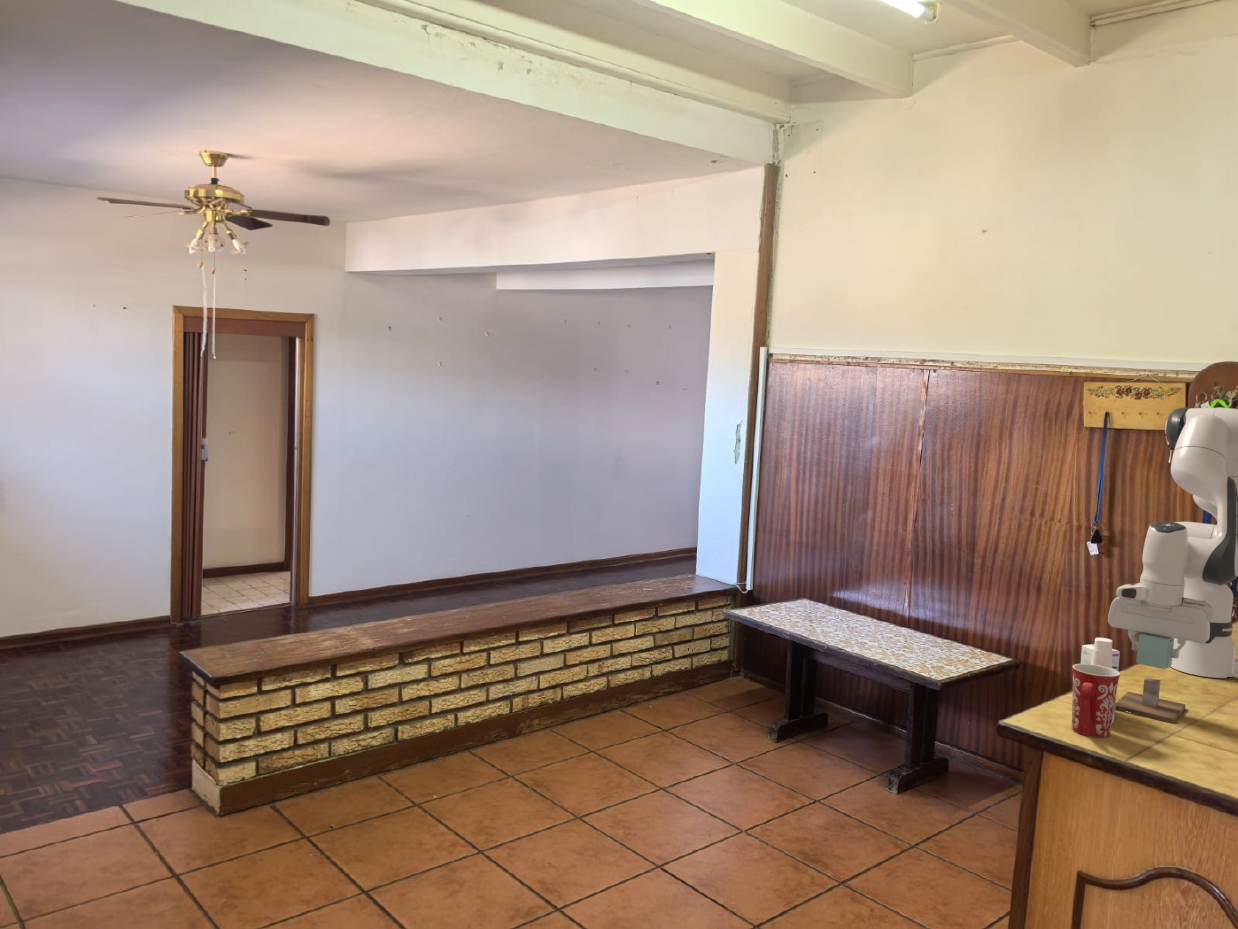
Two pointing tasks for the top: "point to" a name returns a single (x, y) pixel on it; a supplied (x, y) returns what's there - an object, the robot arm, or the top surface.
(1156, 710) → the post board
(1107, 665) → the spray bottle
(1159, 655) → the pale teal box
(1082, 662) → the syrup box
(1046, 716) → the top surface
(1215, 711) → the top surface
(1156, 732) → the top surface
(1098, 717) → the mug
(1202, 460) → the robot arm
